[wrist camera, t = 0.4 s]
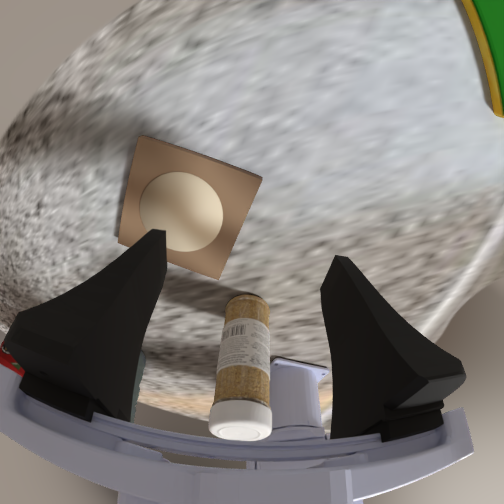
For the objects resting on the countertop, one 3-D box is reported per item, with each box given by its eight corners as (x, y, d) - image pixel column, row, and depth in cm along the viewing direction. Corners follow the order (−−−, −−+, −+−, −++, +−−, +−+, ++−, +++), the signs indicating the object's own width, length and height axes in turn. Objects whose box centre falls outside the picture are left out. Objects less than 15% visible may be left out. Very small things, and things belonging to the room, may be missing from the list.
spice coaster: (219, 274, 26) (218, 280, 25) (121, 238, 24) (117, 243, 23) (262, 177, 21) (262, 180, 20) (142, 135, 19) (138, 137, 18)
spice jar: (233, 326, 29) (220, 443, 18) (219, 296, 27) (197, 423, 16) (274, 320, 29) (277, 441, 17) (265, 288, 26) (264, 421, 15)
